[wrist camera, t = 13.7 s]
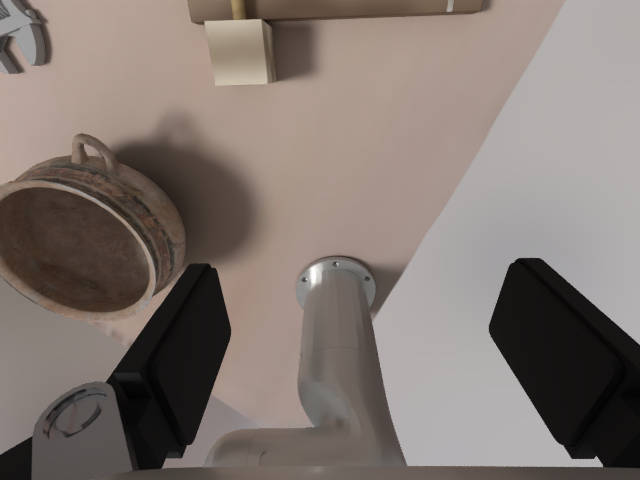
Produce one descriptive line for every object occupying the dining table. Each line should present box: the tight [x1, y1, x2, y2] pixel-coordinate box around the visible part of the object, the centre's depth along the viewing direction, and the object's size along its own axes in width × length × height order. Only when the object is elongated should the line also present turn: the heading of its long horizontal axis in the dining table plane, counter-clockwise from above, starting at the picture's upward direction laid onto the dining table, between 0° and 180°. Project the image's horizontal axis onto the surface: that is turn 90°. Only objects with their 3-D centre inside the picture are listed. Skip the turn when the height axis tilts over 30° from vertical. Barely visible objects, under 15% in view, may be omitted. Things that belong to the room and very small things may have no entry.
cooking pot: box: [0, 134, 186, 322], centre depth 37 cm, size 25×19×12 cm
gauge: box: [204, 0, 277, 85], centre depth 29 cm, size 10×5×6 cm, turn 2°
